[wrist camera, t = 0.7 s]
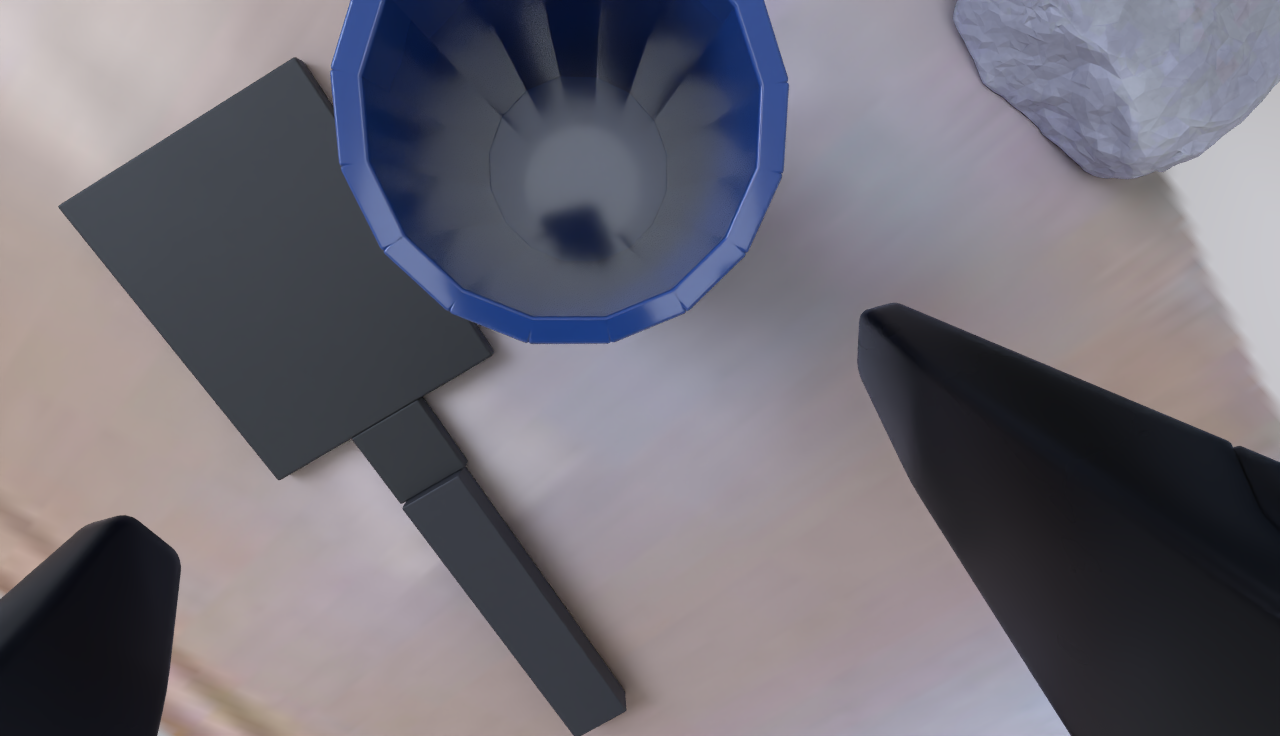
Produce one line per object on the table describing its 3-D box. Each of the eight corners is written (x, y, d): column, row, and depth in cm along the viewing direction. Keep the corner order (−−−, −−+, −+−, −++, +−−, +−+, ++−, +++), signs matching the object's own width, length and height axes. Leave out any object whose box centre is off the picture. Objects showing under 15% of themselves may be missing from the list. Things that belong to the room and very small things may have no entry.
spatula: (693, 653, 26) (698, 672, 25) (509, 754, 27) (506, 776, 26) (303, 60, 20) (287, 52, 19) (71, 206, 21) (42, 206, 19)
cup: (631, 301, 23) (680, 403, 11) (451, 226, 22) (275, 245, 10) (709, 119, 21) (863, -1, 9) (521, 29, 20) (420, -238, 8)
